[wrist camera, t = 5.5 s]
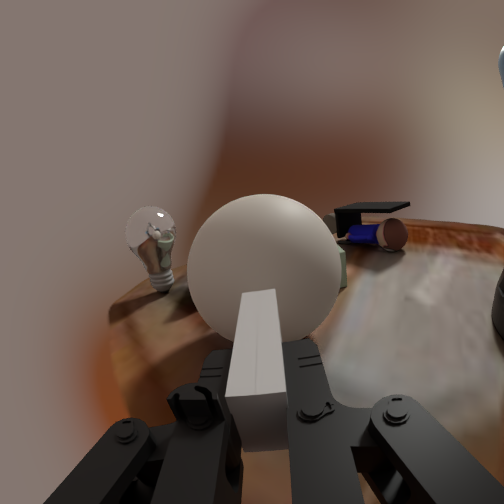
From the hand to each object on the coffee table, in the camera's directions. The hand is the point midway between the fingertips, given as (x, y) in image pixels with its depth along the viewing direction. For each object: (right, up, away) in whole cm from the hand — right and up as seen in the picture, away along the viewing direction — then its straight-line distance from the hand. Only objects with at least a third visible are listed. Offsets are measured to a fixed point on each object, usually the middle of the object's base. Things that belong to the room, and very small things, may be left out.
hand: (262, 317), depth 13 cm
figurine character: (+18, +4, +30) cm, 35 cm away
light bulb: (-13, -3, +24) cm, 27 cm away
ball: (0, +2, +8) cm, 9 cm away
